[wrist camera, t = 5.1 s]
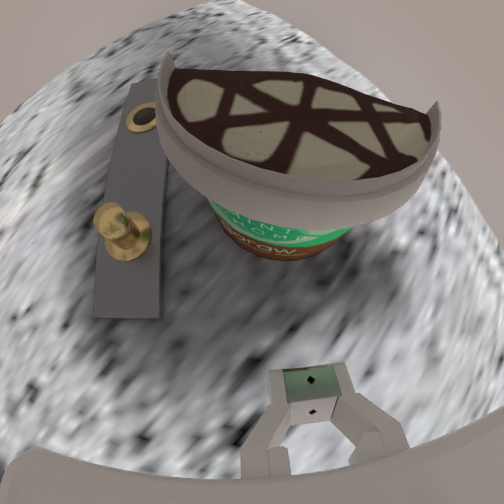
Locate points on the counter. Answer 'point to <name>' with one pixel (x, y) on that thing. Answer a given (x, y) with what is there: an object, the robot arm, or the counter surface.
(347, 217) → the food container
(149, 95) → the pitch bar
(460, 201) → the counter surface
